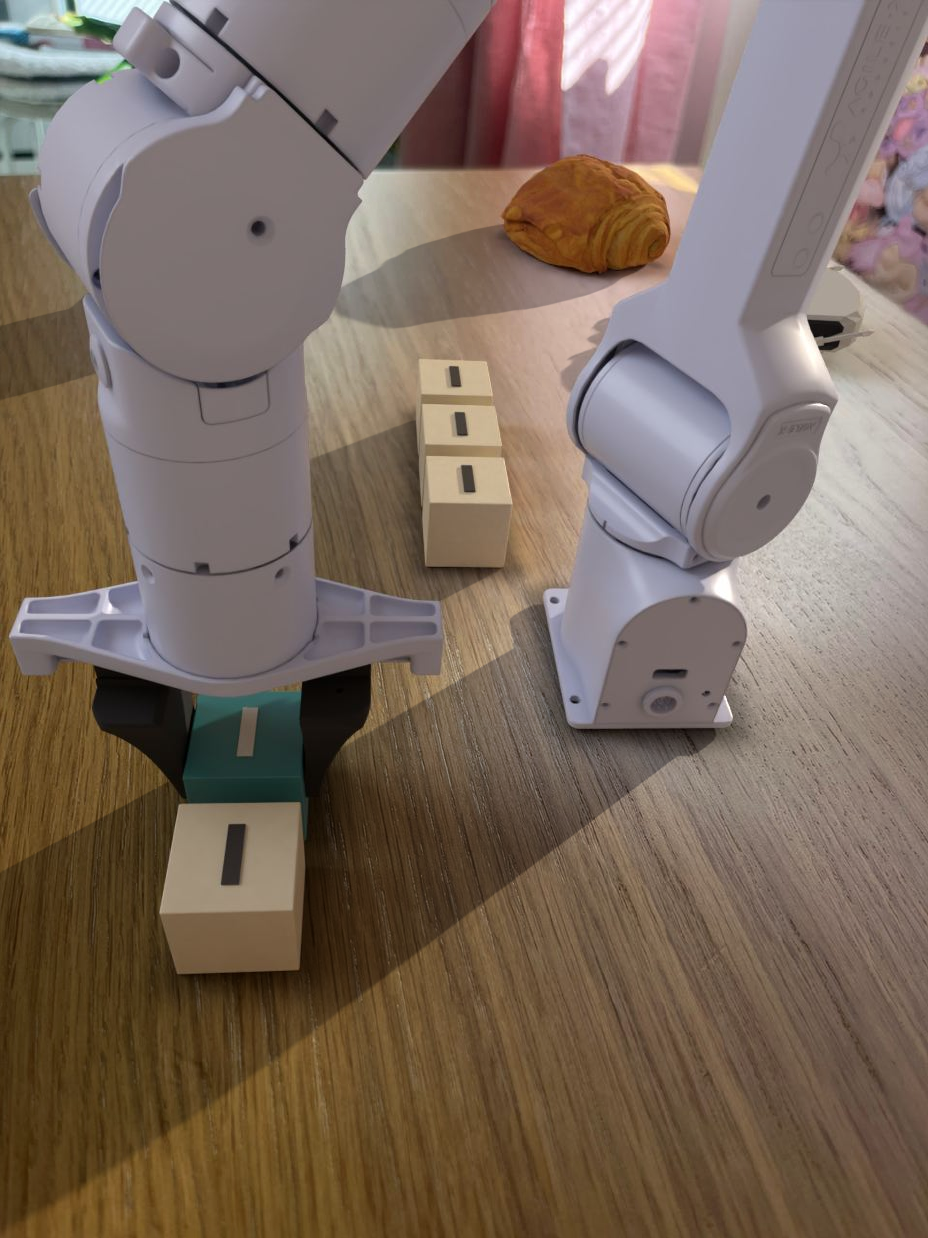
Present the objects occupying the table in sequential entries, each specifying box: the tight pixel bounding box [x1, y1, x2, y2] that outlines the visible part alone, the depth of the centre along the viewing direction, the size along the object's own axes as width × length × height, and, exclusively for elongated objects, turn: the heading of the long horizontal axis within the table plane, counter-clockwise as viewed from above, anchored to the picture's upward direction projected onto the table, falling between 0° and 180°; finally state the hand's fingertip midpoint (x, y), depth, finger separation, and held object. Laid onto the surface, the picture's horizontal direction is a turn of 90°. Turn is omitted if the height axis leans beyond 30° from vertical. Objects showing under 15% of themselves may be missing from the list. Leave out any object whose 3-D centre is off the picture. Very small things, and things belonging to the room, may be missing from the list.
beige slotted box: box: [159, 802, 306, 975], centre depth 34 cm, size 4×4×4 cm
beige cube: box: [421, 456, 513, 568], centre depth 52 cm, size 4×4×4 cm
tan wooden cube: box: [418, 404, 503, 508], centre depth 56 cm, size 4×4×4 cm
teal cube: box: [183, 690, 310, 842], centre depth 38 cm, size 4×4×4 cm
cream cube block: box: [415, 358, 494, 456], centre depth 60 cm, size 4×4×4 cm
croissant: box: [500, 153, 672, 274], centre depth 85 cm, size 14×16×8 cm
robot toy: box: [806, 264, 875, 354], centre depth 74 cm, size 12×4×15 cm
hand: (254, 778), depth 39 cm, fingers closed on teal cube, 4 cm apart
